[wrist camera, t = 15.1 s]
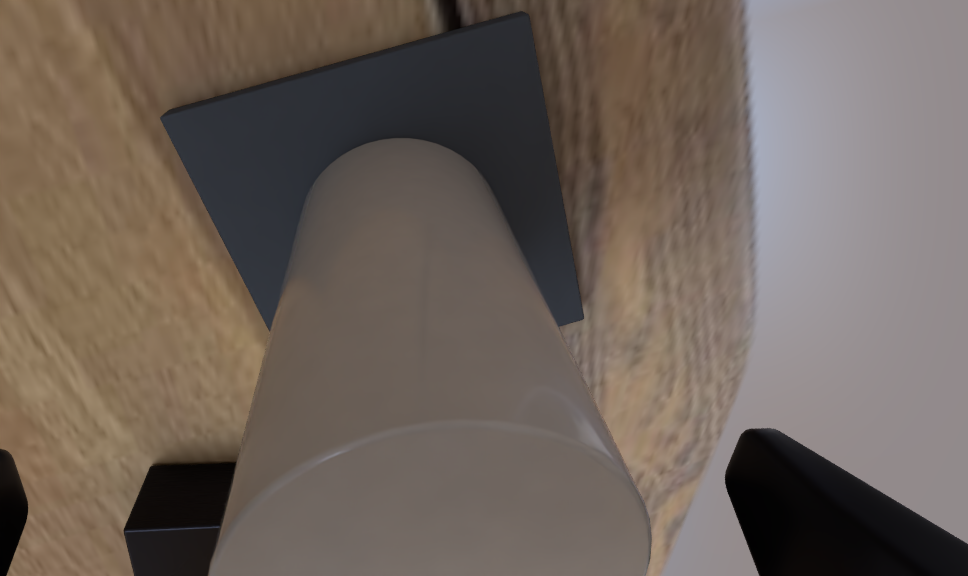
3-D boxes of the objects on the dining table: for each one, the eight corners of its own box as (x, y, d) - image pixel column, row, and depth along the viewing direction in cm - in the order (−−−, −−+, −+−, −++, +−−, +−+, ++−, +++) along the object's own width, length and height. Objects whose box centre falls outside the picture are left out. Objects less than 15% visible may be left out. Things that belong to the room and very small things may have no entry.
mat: (578, 307, 17) (584, 320, 16) (306, 387, 16) (304, 401, 16) (523, 10, 13) (529, 13, 12) (166, 110, 13) (158, 117, 12)
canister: (514, 145, 13) (706, 419, 6) (489, 322, 16) (605, 695, 8) (296, 129, 13) (176, 429, 5) (301, 320, 15) (226, 737, 7)
